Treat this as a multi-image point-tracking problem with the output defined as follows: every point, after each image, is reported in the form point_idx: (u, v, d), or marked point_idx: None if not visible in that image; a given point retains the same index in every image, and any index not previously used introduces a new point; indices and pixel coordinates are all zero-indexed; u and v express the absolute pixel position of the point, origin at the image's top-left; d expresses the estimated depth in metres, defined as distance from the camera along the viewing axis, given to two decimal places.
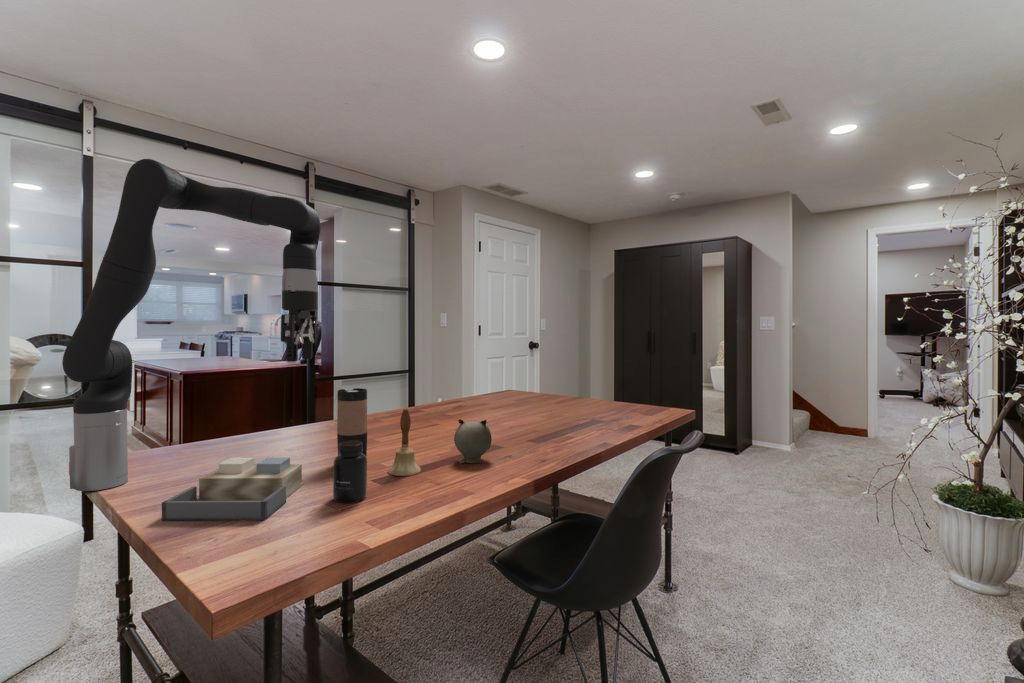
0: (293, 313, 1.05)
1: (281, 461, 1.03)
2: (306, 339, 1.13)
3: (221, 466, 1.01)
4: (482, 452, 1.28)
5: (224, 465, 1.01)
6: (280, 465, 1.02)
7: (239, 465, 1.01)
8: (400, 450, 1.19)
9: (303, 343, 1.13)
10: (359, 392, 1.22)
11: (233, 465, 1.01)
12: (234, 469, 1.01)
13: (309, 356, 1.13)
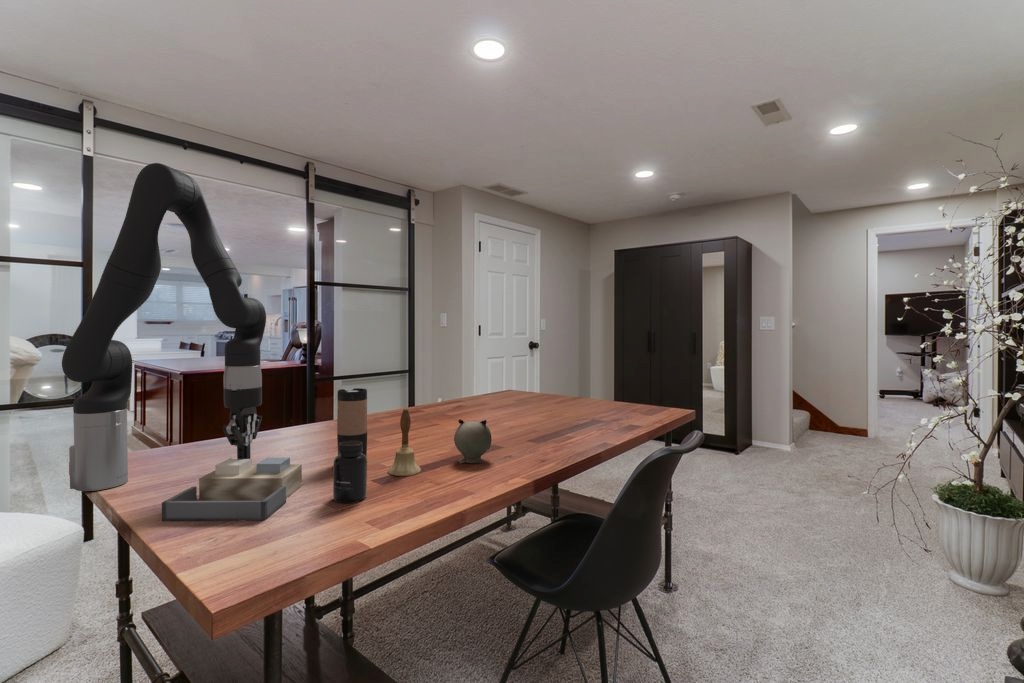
0: (234, 412, 1.02)
1: (281, 461, 1.03)
2: None
3: (218, 467, 1.00)
4: (482, 452, 1.28)
5: (221, 466, 1.00)
6: (280, 465, 1.02)
7: (236, 466, 1.00)
8: (400, 450, 1.19)
9: None
10: (359, 392, 1.22)
11: (230, 466, 1.00)
12: (231, 470, 1.00)
13: (246, 458, 1.06)
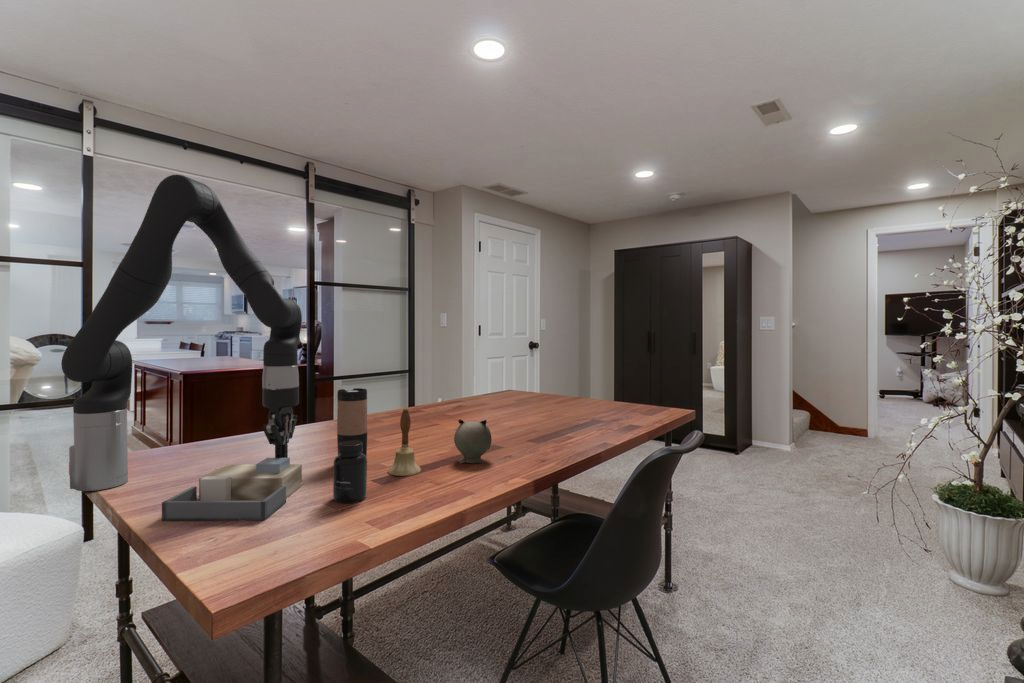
0: (274, 412, 1.04)
1: (280, 461, 1.03)
2: None
3: None
4: (482, 452, 1.28)
5: None
6: (280, 465, 1.02)
7: None
8: (400, 450, 1.19)
9: None
10: (359, 392, 1.22)
11: None
12: None
13: (284, 457, 1.08)
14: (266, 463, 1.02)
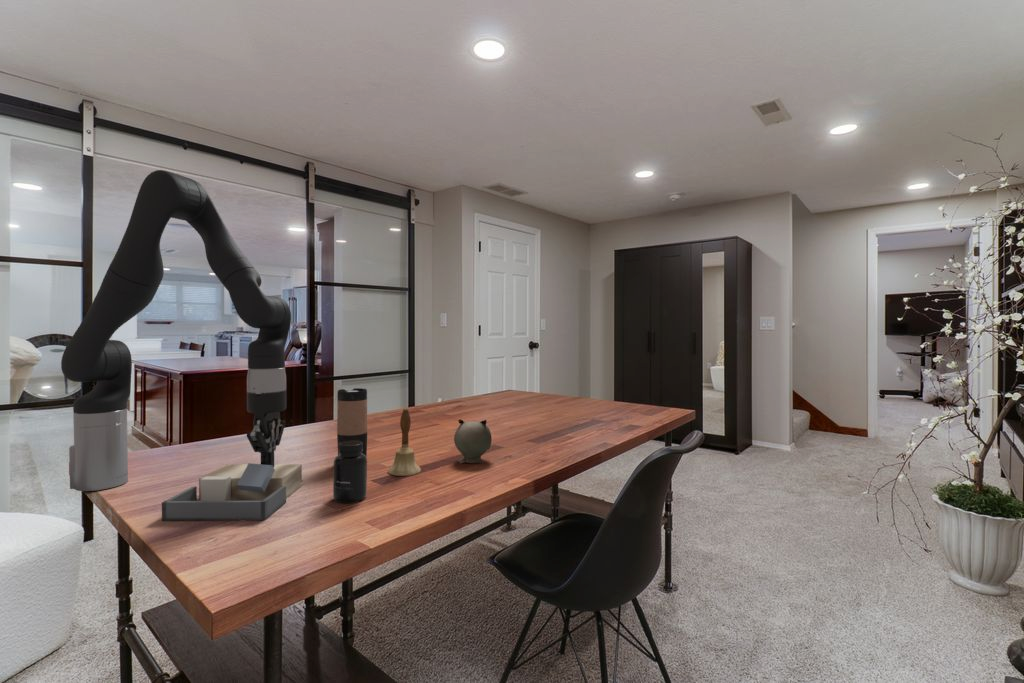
0: (259, 417, 0.97)
1: (262, 479, 0.96)
2: None
3: None
4: (482, 452, 1.28)
5: None
6: (262, 486, 0.95)
7: None
8: (400, 450, 1.19)
9: None
10: (359, 392, 1.22)
11: None
12: None
13: None
14: (247, 483, 0.95)
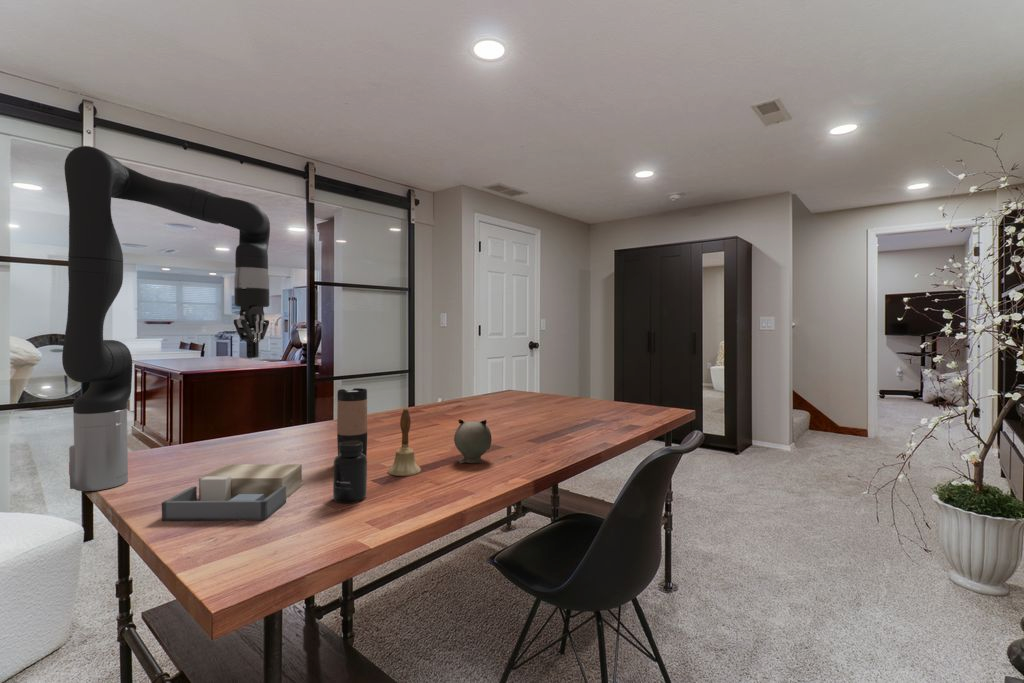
0: (244, 309, 1.12)
1: None
2: None
3: None
4: (482, 452, 1.28)
5: None
6: None
7: None
8: (400, 450, 1.19)
9: None
10: (359, 392, 1.22)
11: None
12: None
13: None
14: None
